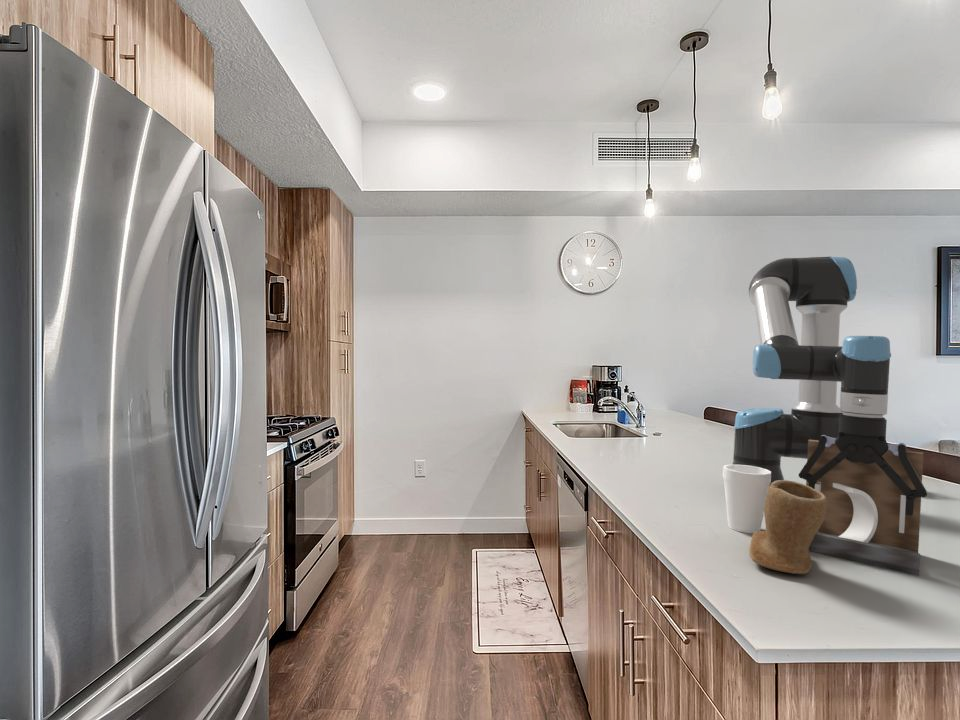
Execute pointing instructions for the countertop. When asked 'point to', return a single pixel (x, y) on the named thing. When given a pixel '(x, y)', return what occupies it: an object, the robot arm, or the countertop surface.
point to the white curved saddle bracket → (860, 515)
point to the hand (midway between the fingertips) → (857, 523)
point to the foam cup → (745, 496)
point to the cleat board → (886, 541)
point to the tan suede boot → (788, 527)
